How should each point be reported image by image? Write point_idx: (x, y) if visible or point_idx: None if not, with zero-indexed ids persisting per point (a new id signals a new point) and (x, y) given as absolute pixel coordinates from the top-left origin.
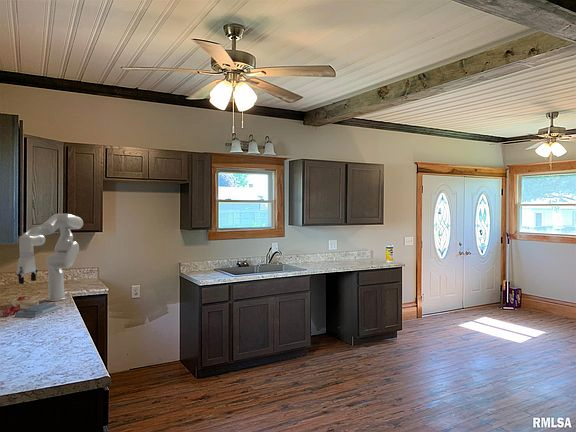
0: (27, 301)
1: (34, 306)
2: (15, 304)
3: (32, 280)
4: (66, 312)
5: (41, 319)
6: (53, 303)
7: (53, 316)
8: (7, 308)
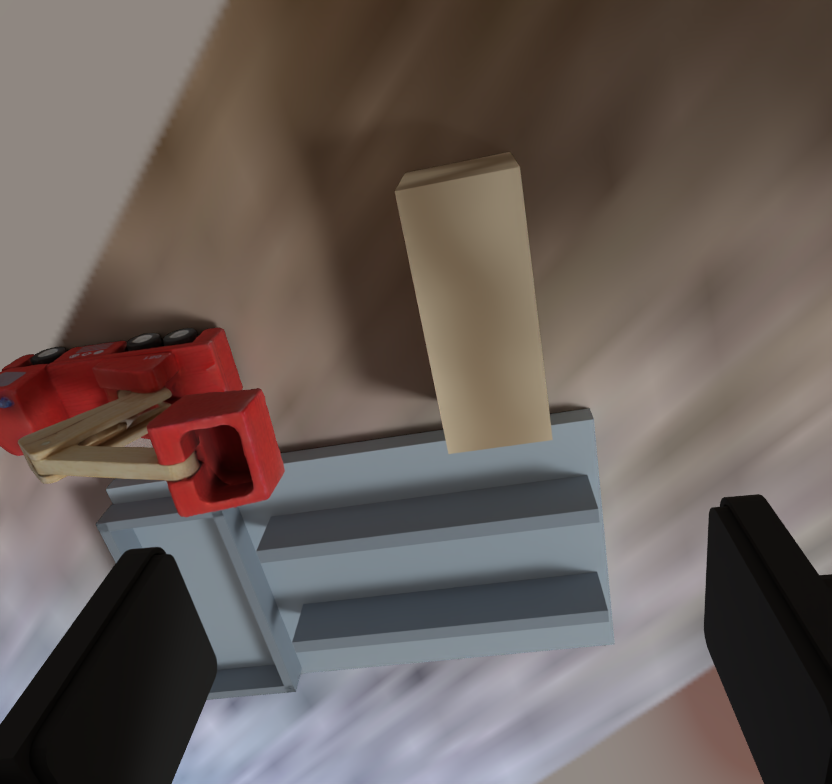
0: (482, 277)
1: (345, 549)
2: (134, 440)
3: (710, 558)
4: (454, 767)
5: (187, 751)
6: (570, 619)
7: (301, 765)
8: (24, 419)
